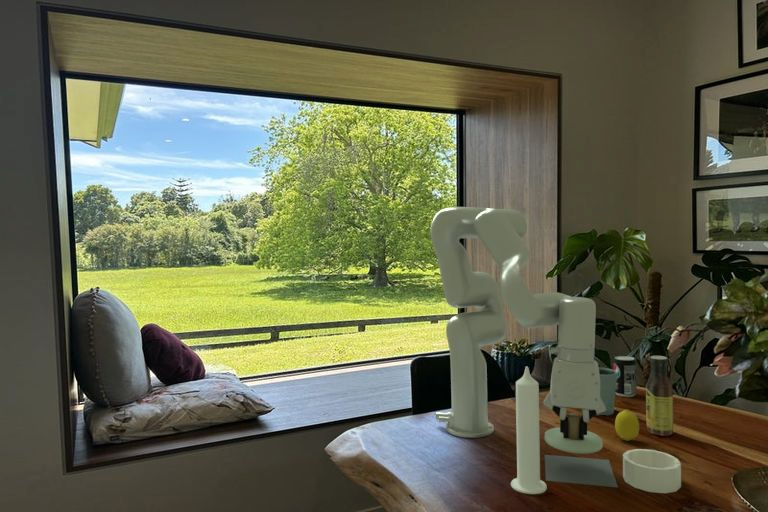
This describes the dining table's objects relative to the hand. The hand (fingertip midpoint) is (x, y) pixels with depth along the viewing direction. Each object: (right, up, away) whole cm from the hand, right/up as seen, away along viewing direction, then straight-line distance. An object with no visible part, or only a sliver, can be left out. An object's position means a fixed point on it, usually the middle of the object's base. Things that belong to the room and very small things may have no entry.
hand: (573, 436), depth 119 cm
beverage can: (+36, -5, +56) cm, 67 cm away
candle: (-12, -8, -8) cm, 16 cm away
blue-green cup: (+22, -6, +40) cm, 46 cm away
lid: (0, -1, 0) cm, 1 cm away
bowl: (+14, -7, -7) cm, 17 cm away
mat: (+1, -7, -1) cm, 8 cm away
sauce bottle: (+30, -6, +21) cm, 37 cm away
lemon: (+19, -7, +16) cm, 26 cm away
